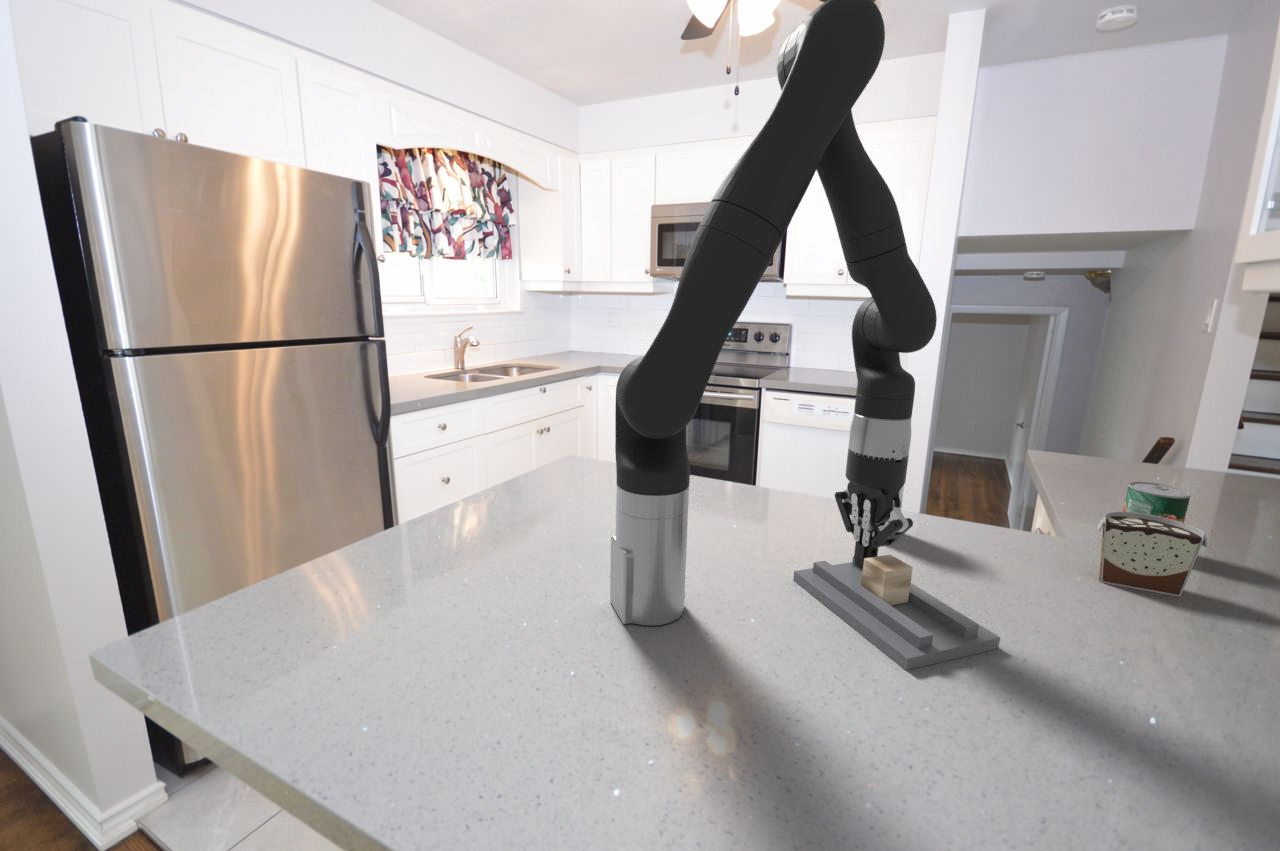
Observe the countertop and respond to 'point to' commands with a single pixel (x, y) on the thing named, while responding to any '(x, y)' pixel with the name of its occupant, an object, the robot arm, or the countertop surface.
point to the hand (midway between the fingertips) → (864, 567)
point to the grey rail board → (896, 618)
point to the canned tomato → (1157, 500)
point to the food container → (1148, 552)
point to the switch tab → (887, 578)
